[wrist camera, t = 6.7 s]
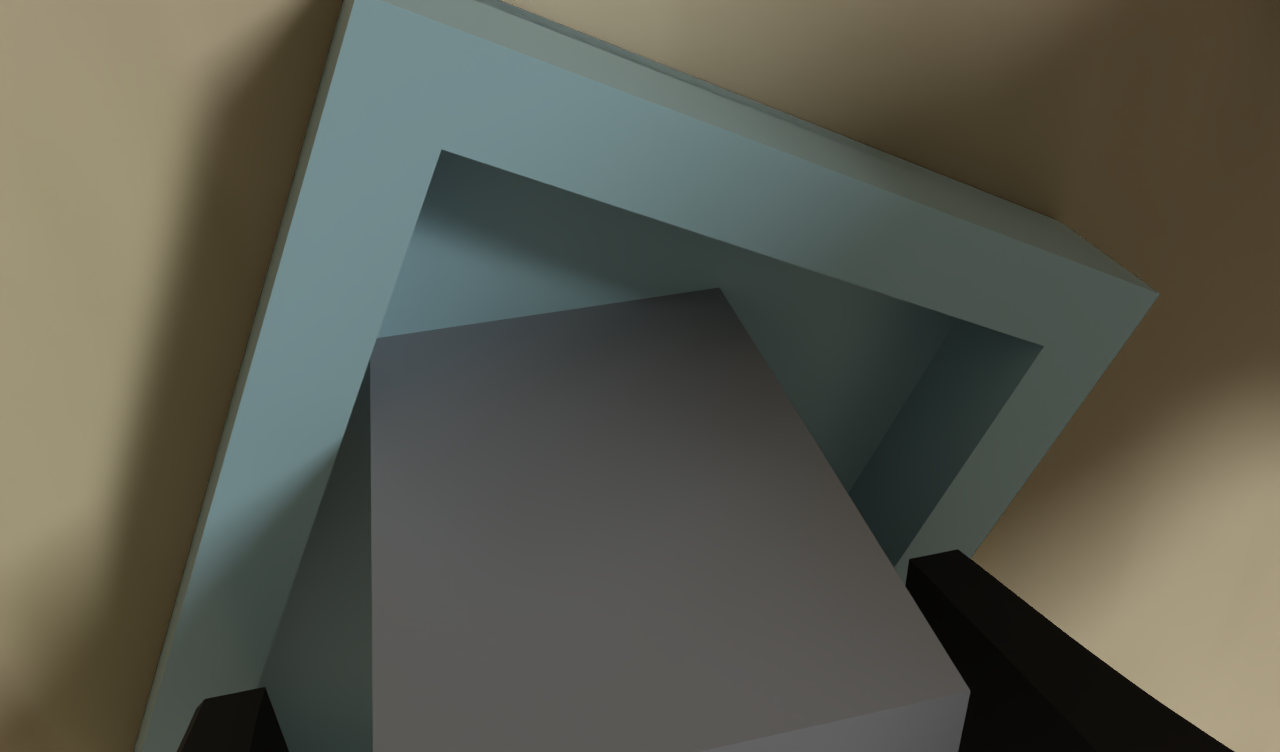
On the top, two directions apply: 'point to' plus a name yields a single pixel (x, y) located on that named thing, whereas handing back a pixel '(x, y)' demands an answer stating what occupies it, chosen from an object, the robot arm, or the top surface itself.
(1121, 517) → the top surface
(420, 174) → the service tray
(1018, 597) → the robot arm
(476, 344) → the block
